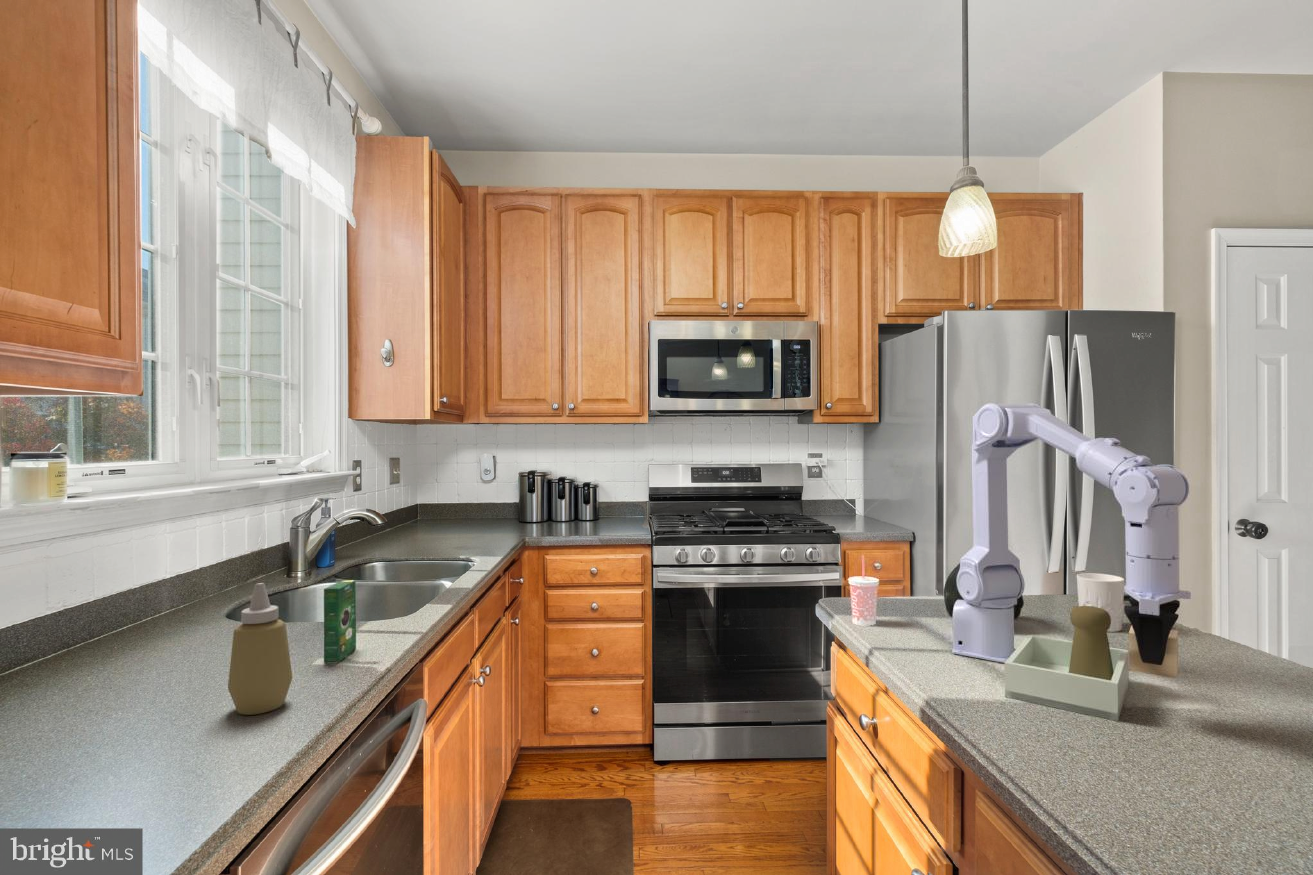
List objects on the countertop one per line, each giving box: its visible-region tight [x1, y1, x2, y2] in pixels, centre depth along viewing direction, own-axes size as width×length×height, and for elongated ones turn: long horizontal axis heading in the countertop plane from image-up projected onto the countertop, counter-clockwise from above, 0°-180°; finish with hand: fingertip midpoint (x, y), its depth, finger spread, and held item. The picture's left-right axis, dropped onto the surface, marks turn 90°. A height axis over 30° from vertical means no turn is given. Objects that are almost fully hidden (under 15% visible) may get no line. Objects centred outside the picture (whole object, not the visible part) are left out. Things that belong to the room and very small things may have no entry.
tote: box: [1004, 634, 1130, 722], centre depth 99 cm, size 14×18×5 cm
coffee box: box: [323, 579, 357, 664], centre depth 119 cm, size 8×3×13 cm, turn 4°
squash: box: [943, 562, 1025, 621], centre depth 135 cm, size 14×15×15 cm
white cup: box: [1076, 572, 1125, 633], centre depth 131 cm, size 8×8×10 cm
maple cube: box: [1128, 624, 1179, 679], centre depth 88 cm, size 5×5×5 cm
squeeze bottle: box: [227, 582, 293, 715], centre depth 96 cm, size 8×8×18 cm
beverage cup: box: [847, 554, 880, 627], centre depth 136 cm, size 6×6×14 cm
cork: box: [1069, 605, 1114, 681], centre depth 100 cm, size 6×6×11 cm
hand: (1153, 657), depth 88 cm, fingers closed on maple cube, 5 cm apart
